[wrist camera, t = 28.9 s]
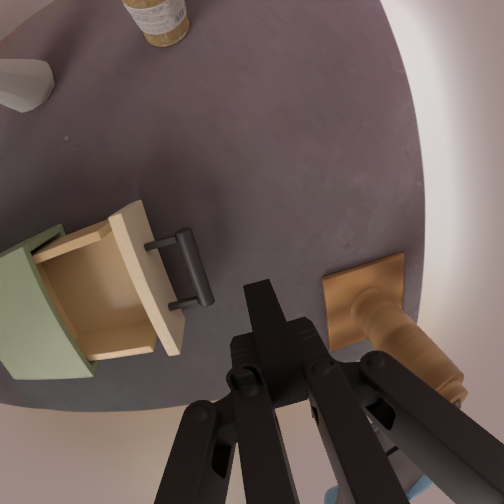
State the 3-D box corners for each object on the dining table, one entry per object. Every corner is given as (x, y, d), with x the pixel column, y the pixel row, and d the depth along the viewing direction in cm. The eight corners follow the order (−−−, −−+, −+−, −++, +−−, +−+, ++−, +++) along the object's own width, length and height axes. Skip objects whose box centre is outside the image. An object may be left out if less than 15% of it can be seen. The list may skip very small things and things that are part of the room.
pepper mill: (384, 314, 32) (467, 413, 15) (350, 327, 32) (426, 440, 15) (384, 282, 30) (485, 380, 13) (349, 295, 30) (442, 412, 13)
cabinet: (61, 222, 24) (22, 246, 17) (112, 334, 29) (94, 377, 22) (-10, 258, 23) (-43, 281, 16) (35, 346, 29) (14, 379, 21)
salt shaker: (56, 55, 17) (-15, 23, 5) (66, 93, 19) (-16, 72, 7) (20, 85, 17) (-55, 73, 5) (28, 123, 19) (-55, 124, 7)
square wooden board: (397, 321, 34) (400, 324, 33) (328, 348, 34) (330, 351, 33) (400, 251, 30) (404, 254, 29) (321, 277, 30) (323, 280, 29)
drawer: (184, 185, 24) (175, 195, 18) (223, 310, 28) (225, 344, 23) (34, 241, 23) (5, 261, 18) (82, 339, 28) (66, 369, 22)
